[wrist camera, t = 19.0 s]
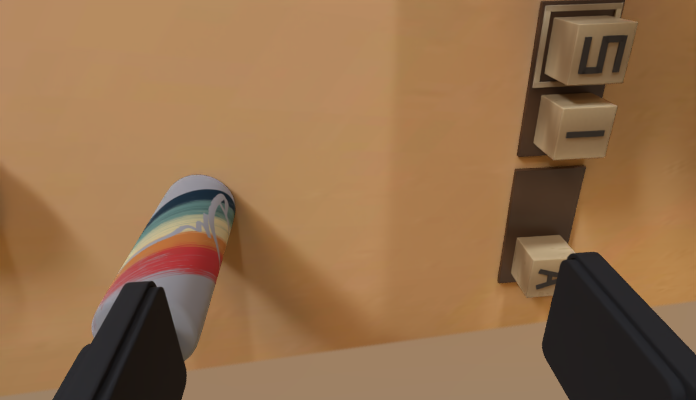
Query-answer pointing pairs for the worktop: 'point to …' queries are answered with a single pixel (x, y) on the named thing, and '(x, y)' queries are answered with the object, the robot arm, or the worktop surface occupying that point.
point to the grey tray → (565, 95)
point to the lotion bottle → (180, 254)
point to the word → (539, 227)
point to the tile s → (590, 49)
